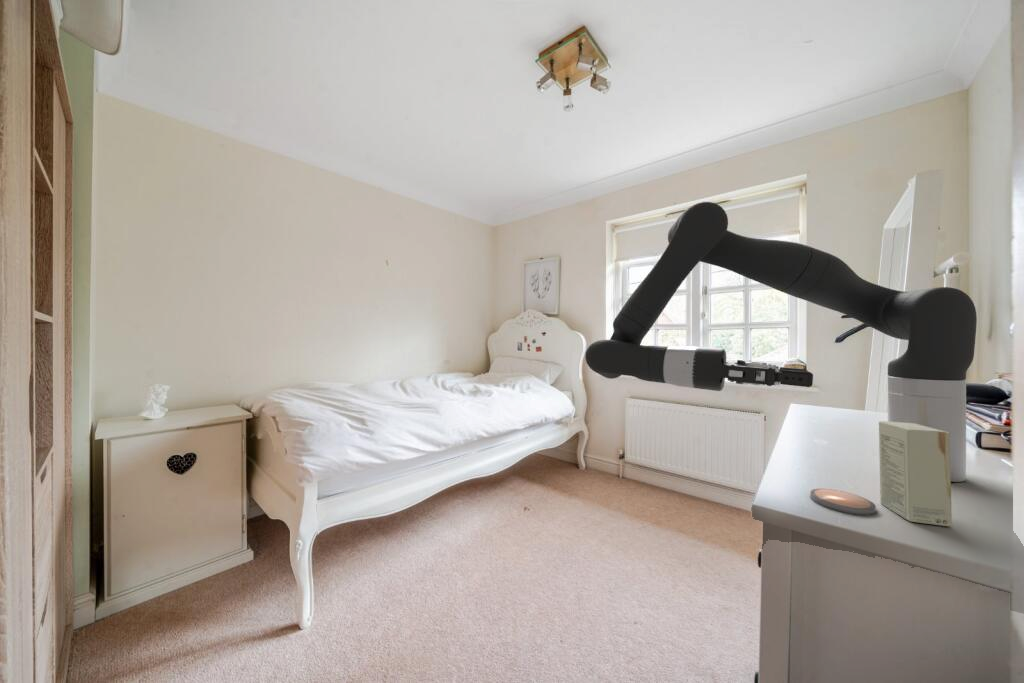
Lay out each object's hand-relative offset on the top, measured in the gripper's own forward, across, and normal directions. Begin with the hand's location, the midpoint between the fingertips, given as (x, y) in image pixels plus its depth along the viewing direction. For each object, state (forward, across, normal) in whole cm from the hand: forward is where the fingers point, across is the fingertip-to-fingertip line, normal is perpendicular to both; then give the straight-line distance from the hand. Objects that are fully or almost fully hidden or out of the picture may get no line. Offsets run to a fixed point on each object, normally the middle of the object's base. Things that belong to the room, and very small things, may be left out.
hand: (809, 377), depth 55 cm
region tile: (+4, -1, +18) cm, 19 cm away
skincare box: (+12, 0, +18) cm, 21 cm away
